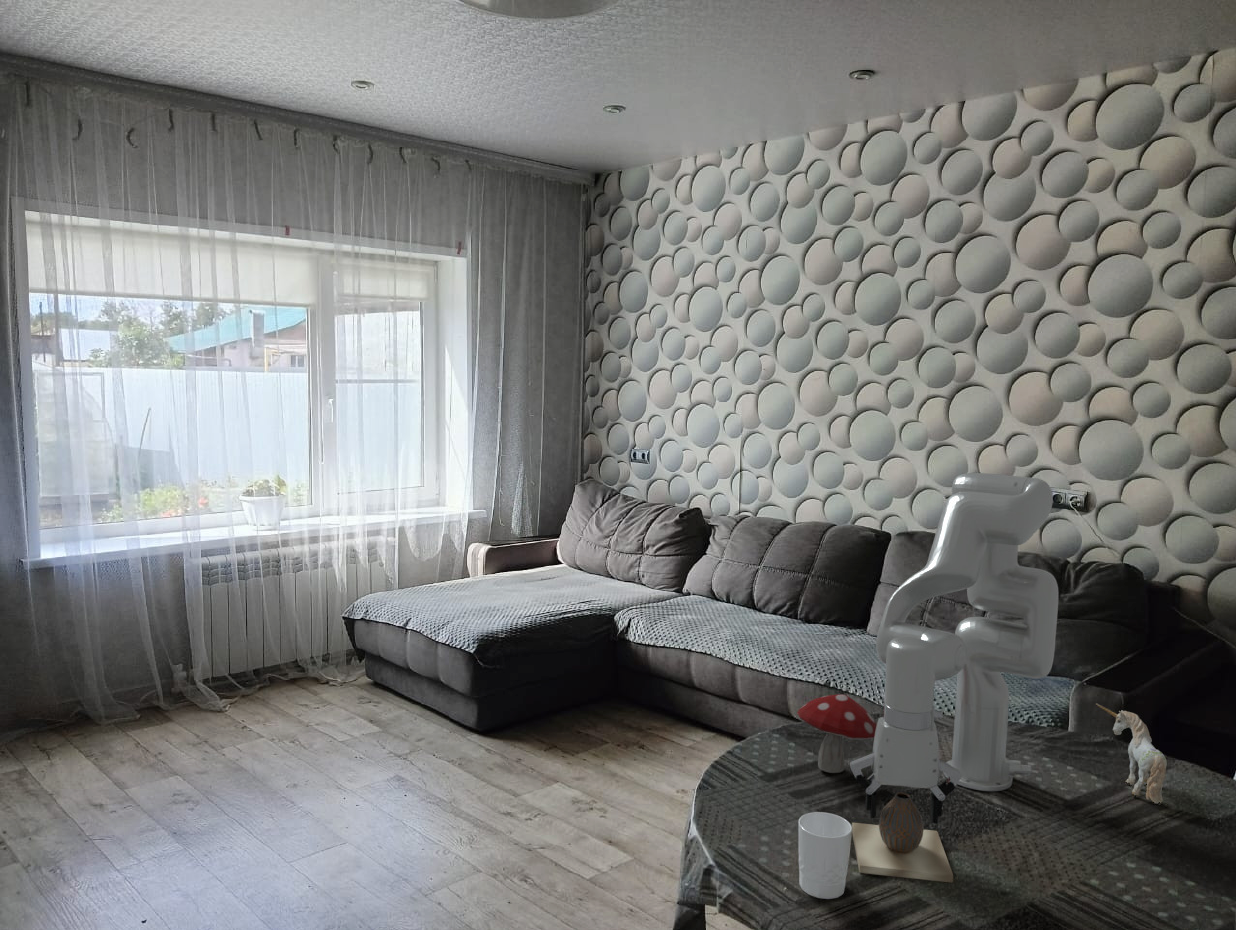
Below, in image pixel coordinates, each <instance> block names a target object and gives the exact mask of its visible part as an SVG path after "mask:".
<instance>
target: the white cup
mask: <svg viewBox="0 0 1236 930" xmlns="http://www.w3.org/2000/svg"><path fill="white" fill-rule="evenodd" d="M797 822H798V831H797V833H798V834H797V835H798V839H797V840H798V841H797V842H798V847H797V848H798V850H797V851H798V869H799V876H798V877H799V878H798V881H799V882H798V883H799V886H800V888H801V890H802V891H803V892H805V893H806V894H807V895H809V896H811V897H813V898H817V899H825V900H832V899H837V898H839V897H841V896H842V895H843V894H845V893H844V892H845V890H846V880H847V879H846V878H847V875H848V869H849V868H848V867H849V860H850V854H851V853H850V851H851V845H852V844H851V842H852V835H853V834H852V823H850V822H849V821H848V820H847V819H845V818H844V817H842V816H840V815H837V814H834V813H829V812H823V811H821V812H820V811H816V812H815V811H814V812H809V813H804V814H802V815H801V816H800V817H799V819H798V820H797Z"/></svg>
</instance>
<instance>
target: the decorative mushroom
mask: <svg viewBox="0 0 1236 930" xmlns="http://www.w3.org/2000/svg"><path fill="white" fill-rule="evenodd" d="M796 713H797V715H798V717H799V718H800V720H802V722H805V723H807V724H808V725H810V726H811V727H813V728H815V729H817V730H819V731H821V732H823V733H826V734H825V736H824V738H823V740H822V742H821V744H820V747H819V748H820V749H819V751H818V759H817V761H818V762H817V765H818V766H817V767H818V769H819V770H820V771H823V772H825V773H830V774H839V773H841V772H843V771H844V770H845V753H844V747H843V738H844V739H845V738H846V739H849V740H852V741H854V740H855V741H856V740H859V741H860V740H861V741H862V740H863V741H866V740H872V739H873V740H874V736H875V731H876V726H877V722H876V721H875V719H874V718H873V717H872V716H871V714H870V713H869V712H868V711H867V710H866V709H865V708H864V707H863V706H862V705H861V704H859V703H858V702H857V701H856V700H854V699H853V698H851V697H850V696H849V695H846V694H842V693H841V694H830V695H824V696H821V697H817V698H814V699H812V700H810V701H808V702H806V703H805V704H804V705H803V706H801V707H800V708H799V709H798V711H797V712H796Z"/></svg>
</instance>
